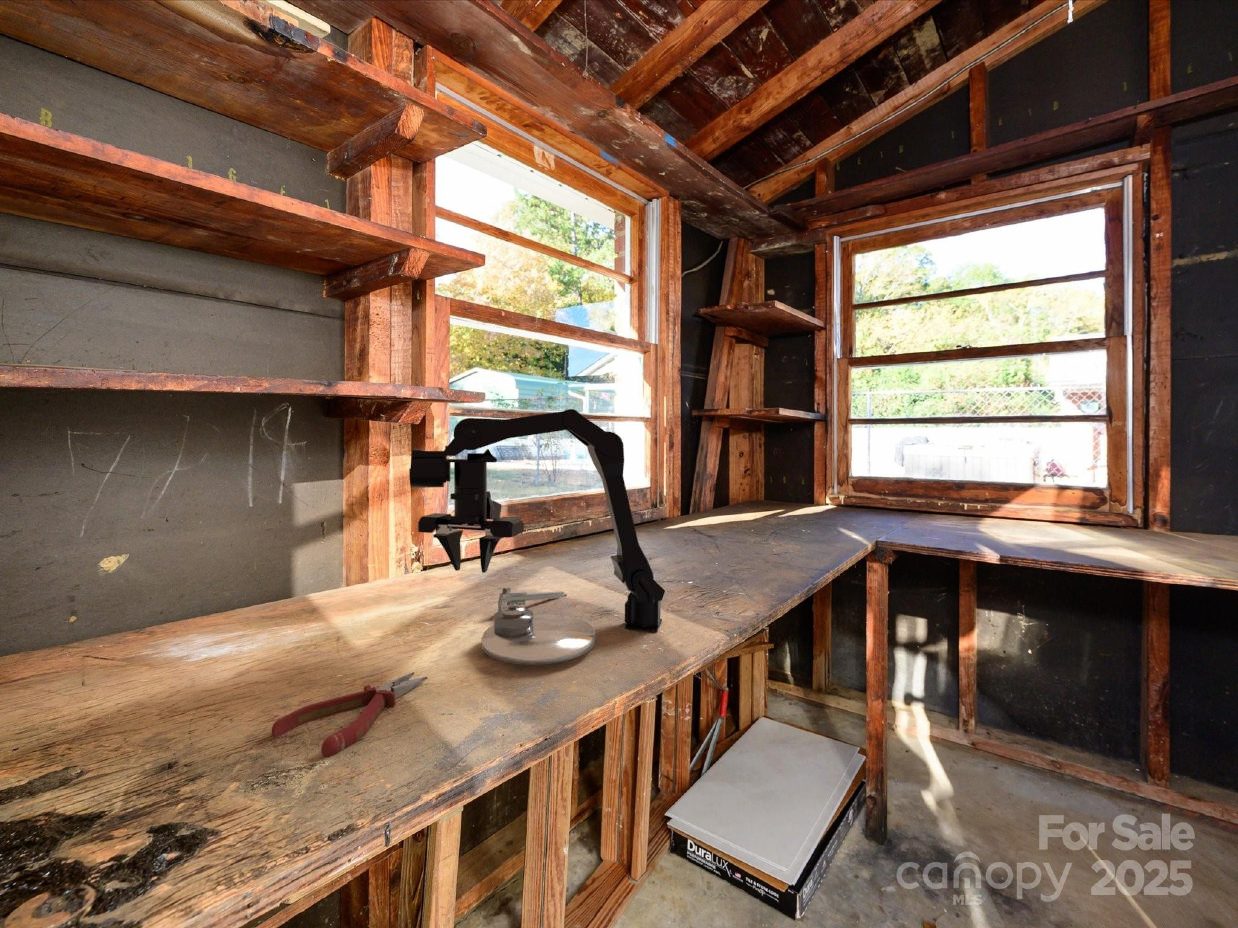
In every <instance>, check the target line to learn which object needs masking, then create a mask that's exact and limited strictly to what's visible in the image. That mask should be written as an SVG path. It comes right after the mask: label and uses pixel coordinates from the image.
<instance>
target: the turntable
mask: <svg viewBox="0 0 1238 928" xmlns="http://www.w3.org/2000/svg"><path fill="white" fill-rule="evenodd" d="M481 636H482V637H481V640H482V641H481V644H482V645H481V647H482V650H483V652H484V653H485V654H486V655H487V656H489V657H490V658H492V659H494V660H497V661H501V662H503V663H508V664H514V665H524V666H525V665H527V666H537V665H550V664H557V663H558V664H559V663H562V662H566V661H570V660H573V659H576V658H578V657H580V656H582V655H585V654H586V653H588V652H589V651H591V650H592V648H593V647H594V646H595V643H596V630H595V628H594V627H593V625H591V624H590V623H589V622H587V621H585V620H583V619H580V618H577V617H573V616H568V615H561V614H533V632H532V633H530V634H529V635H526V636H523V637H517V638H504V637H499V636H497V635H495V633H494V624H493V625H491V626H490V627H488V628H487V629H486V630H485V631H484V632H483V634H482V635H481Z"/></svg>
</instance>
